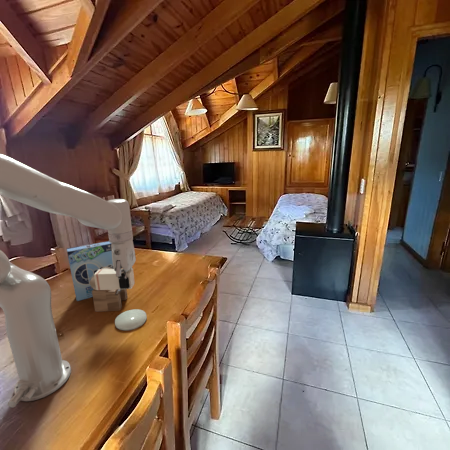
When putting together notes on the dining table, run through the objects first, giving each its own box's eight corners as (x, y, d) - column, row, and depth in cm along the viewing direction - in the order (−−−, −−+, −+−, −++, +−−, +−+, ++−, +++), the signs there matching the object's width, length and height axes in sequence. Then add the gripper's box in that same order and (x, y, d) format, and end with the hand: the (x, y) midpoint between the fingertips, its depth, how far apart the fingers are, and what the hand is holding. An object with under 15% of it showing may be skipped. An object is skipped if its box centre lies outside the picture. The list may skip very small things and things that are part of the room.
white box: (131, 288, 89) (129, 273, 87) (96, 290, 88) (93, 274, 86) (134, 283, 92) (133, 268, 91) (101, 284, 92) (98, 269, 90)
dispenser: (119, 310, 100) (115, 276, 97) (93, 311, 100) (88, 277, 96) (127, 297, 110) (123, 265, 106) (104, 298, 109) (99, 266, 106)
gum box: (121, 284, 121) (116, 239, 115) (124, 288, 117) (118, 242, 111) (75, 296, 111) (66, 247, 105) (76, 302, 107) (66, 251, 101)
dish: (142, 329, 89) (142, 326, 89) (110, 331, 88) (110, 328, 88) (149, 311, 100) (149, 308, 99) (121, 312, 99) (120, 309, 99)
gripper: (124, 243, 78) (130, 297, 82) (138, 229, 94) (143, 274, 99) (99, 244, 77) (107, 298, 82) (118, 229, 93) (123, 274, 98)
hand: (126, 284), depth 90 cm, fingers closed on white box, 4 cm apart
